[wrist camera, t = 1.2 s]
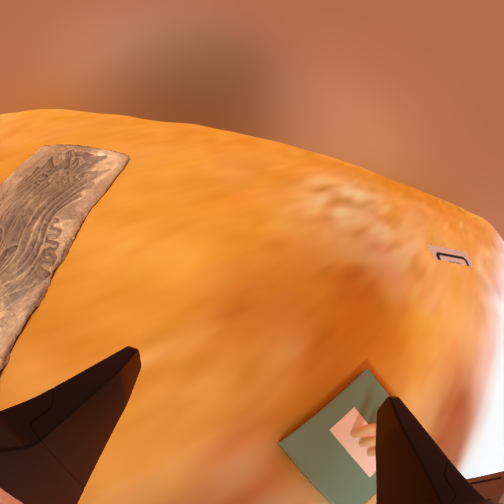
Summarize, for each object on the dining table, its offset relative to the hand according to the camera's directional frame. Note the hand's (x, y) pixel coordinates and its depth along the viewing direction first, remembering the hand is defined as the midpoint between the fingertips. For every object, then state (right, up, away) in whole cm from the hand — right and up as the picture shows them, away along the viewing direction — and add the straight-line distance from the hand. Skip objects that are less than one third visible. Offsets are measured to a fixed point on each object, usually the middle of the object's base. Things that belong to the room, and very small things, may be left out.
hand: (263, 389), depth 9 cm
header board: (+9, -12, +12) cm, 19 cm away
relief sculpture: (-29, +4, +14) cm, 33 cm away
